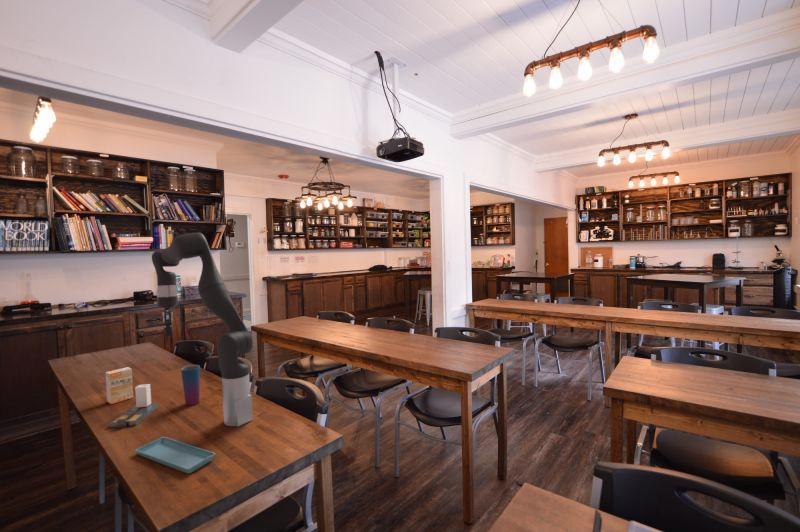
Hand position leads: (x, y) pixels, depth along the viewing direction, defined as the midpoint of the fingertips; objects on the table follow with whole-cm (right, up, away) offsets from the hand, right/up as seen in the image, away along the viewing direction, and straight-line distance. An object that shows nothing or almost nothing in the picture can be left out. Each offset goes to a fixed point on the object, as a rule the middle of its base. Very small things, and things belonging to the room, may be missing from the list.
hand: (168, 335), depth 164 cm
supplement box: (-19, -27, -3) cm, 33 cm away
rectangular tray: (+32, -29, -48) cm, 65 cm away
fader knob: (-1, -25, -14) cm, 29 cm away
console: (-1, -28, -19) cm, 34 cm away
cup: (+15, -27, -8) cm, 32 cm away
